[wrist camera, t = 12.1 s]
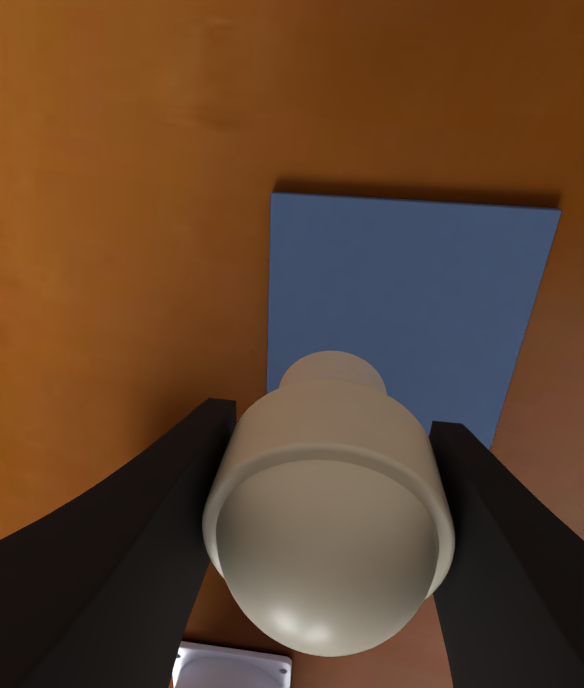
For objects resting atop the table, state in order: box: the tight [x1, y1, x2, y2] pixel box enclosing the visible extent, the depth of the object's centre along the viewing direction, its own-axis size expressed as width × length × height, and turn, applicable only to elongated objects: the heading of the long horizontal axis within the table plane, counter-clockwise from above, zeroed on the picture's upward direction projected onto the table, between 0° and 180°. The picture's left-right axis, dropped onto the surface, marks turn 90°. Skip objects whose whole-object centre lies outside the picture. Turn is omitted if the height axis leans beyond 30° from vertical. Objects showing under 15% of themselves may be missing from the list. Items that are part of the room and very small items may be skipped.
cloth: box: [266, 191, 562, 450], centre depth 20 cm, size 20×10×1 cm, turn 177°
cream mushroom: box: [202, 351, 455, 657], centre depth 9 cm, size 4×4×6 cm
